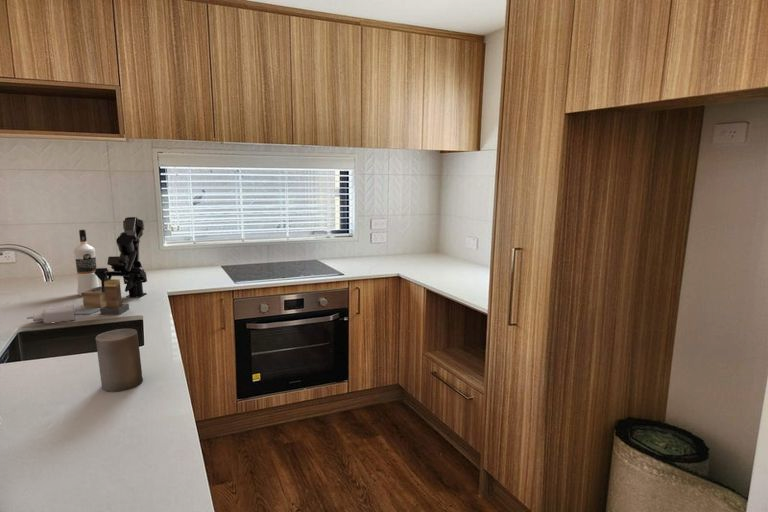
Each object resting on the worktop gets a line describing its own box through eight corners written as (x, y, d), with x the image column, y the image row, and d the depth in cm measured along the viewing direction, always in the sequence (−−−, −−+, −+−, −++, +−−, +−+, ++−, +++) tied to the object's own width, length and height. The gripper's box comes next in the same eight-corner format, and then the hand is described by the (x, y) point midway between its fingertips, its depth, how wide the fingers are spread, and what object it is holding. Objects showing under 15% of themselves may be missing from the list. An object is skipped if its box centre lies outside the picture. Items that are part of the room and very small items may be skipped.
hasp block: (111, 309, 201) (110, 303, 201) (129, 309, 201) (128, 303, 200) (100, 314, 194) (100, 308, 193) (119, 314, 194) (118, 308, 193)
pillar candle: (149, 376, 134) (143, 323, 132) (132, 391, 124) (126, 334, 122) (113, 377, 134) (106, 324, 131) (93, 393, 124) (86, 336, 122)
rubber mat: (83, 309, 202) (83, 308, 202) (103, 309, 202) (103, 307, 202) (71, 314, 194) (71, 313, 194) (91, 314, 194) (91, 313, 194)
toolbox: (96, 302, 212) (94, 285, 211) (114, 302, 212) (112, 285, 211) (82, 308, 203) (80, 290, 201) (101, 308, 203) (99, 290, 201)
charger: (28, 321, 186) (75, 315, 194) (26, 328, 179) (74, 321, 186) (26, 309, 186) (73, 303, 193) (24, 315, 178) (73, 309, 186)
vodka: (100, 290, 234) (93, 228, 229) (101, 294, 226) (94, 229, 221) (77, 293, 229) (69, 229, 224) (78, 297, 221) (70, 231, 216)
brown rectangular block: (113, 310, 199) (109, 279, 197) (122, 310, 199) (119, 279, 197) (107, 313, 195) (104, 281, 193) (117, 313, 195) (114, 281, 193)
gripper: (94, 248, 199) (80, 280, 190) (140, 248, 199) (128, 280, 190) (107, 264, 208) (94, 295, 199) (151, 263, 208) (140, 295, 199)
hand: (114, 291), depth 197 cm, fingers open, 9 cm apart
